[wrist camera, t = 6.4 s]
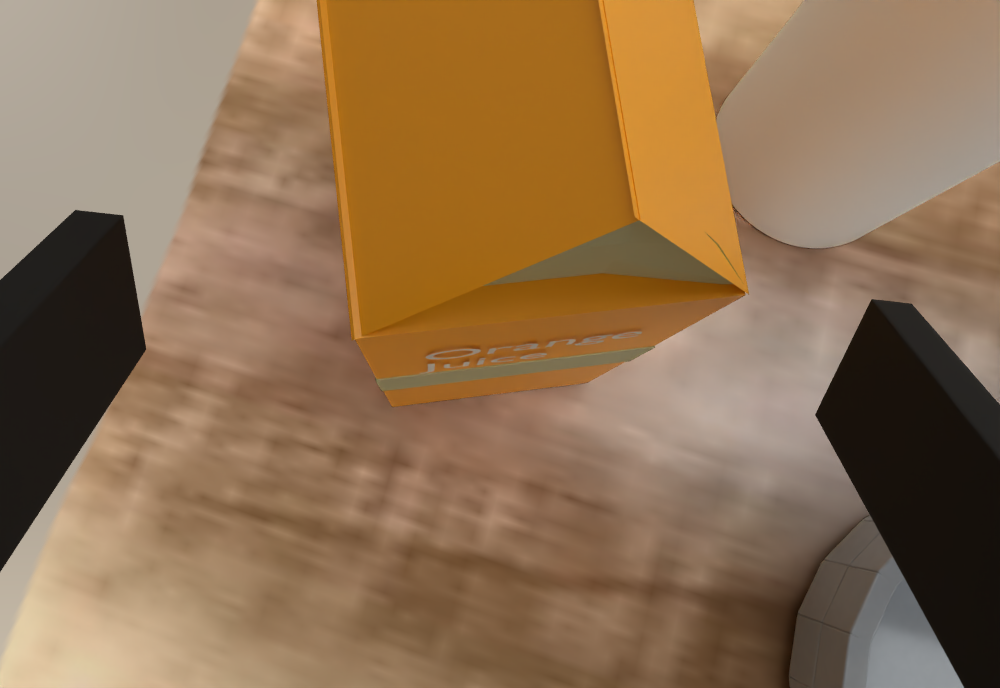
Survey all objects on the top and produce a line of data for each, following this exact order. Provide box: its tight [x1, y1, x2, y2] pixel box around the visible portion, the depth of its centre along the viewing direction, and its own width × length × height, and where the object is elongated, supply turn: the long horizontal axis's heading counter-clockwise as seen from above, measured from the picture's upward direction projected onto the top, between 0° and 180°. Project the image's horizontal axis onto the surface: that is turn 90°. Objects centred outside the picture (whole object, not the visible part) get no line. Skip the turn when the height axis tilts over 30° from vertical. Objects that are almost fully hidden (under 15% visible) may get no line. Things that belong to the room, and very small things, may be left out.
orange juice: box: [317, 0, 749, 407], centre depth 19 cm, size 8×9×20 cm
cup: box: [716, 0, 1000, 248], centre depth 23 cm, size 8×8×16 cm
